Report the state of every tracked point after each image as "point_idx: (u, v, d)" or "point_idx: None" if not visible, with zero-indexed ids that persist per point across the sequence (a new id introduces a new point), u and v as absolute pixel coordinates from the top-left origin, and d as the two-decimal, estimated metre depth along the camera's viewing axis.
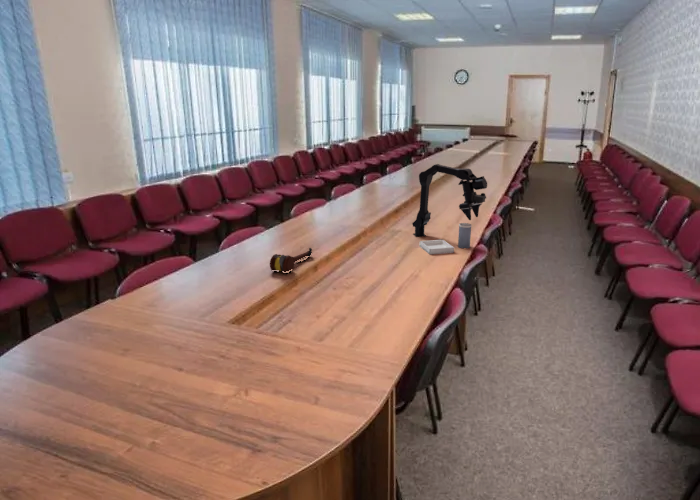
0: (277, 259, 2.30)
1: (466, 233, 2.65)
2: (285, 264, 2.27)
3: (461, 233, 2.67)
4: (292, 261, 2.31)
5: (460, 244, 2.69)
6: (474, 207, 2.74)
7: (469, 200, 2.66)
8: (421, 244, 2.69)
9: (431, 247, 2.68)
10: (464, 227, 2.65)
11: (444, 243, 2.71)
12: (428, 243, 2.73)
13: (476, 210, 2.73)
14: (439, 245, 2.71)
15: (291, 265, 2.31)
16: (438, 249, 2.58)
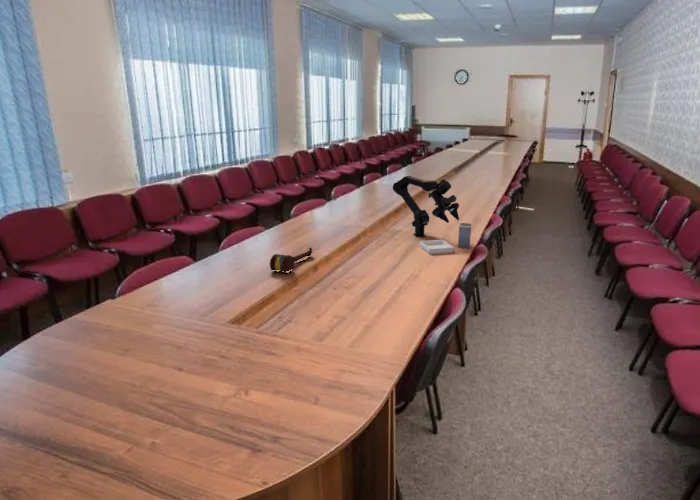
0: (277, 259, 2.30)
1: (466, 233, 2.65)
2: (285, 264, 2.27)
3: (461, 233, 2.67)
4: (292, 261, 2.31)
5: (460, 244, 2.69)
6: (453, 212, 2.78)
7: (441, 205, 2.74)
8: (421, 244, 2.69)
9: (431, 247, 2.68)
10: (464, 227, 2.65)
11: (444, 243, 2.71)
12: (428, 243, 2.73)
13: (455, 214, 2.77)
14: (439, 245, 2.71)
15: (291, 265, 2.31)
16: (438, 249, 2.58)
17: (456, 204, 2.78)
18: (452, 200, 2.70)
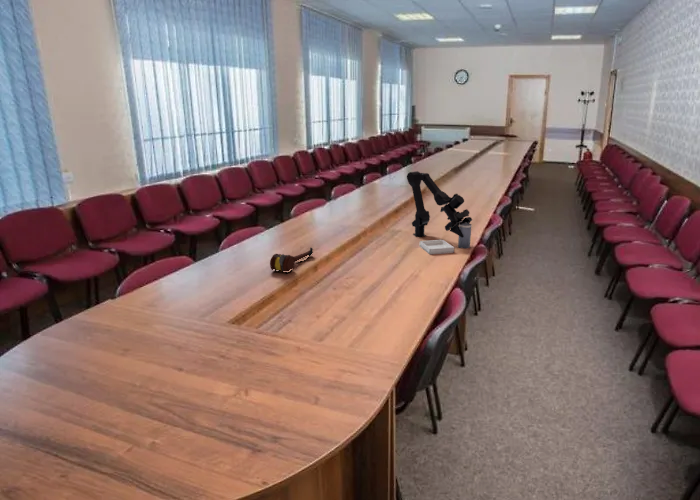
0: (277, 259, 2.31)
1: (466, 232, 2.66)
2: (285, 264, 2.28)
3: None
4: (292, 261, 2.32)
5: (460, 244, 2.69)
6: None
7: (453, 220, 2.69)
8: (421, 244, 2.69)
9: (431, 247, 2.68)
10: (464, 227, 2.65)
11: (444, 243, 2.71)
12: (428, 243, 2.73)
13: None
14: (439, 245, 2.71)
15: (291, 265, 2.32)
16: (438, 249, 2.58)
17: (469, 218, 2.73)
18: (465, 215, 2.65)
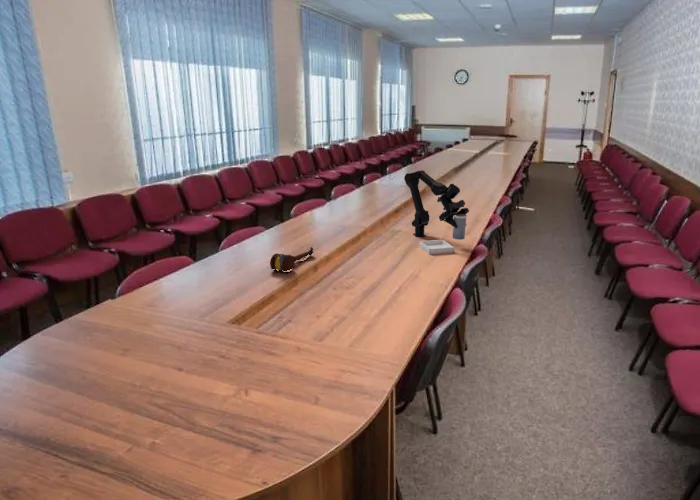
0: (277, 258, 2.31)
1: (460, 223, 2.62)
2: (285, 263, 2.28)
3: None
4: (292, 260, 2.32)
5: (454, 235, 2.66)
6: None
7: (449, 210, 2.67)
8: (421, 244, 2.69)
9: (431, 247, 2.68)
10: (458, 218, 2.62)
11: (444, 243, 2.71)
12: (428, 243, 2.73)
13: None
14: (439, 245, 2.71)
15: (291, 264, 2.32)
16: (438, 249, 2.58)
17: (465, 209, 2.69)
18: (460, 205, 2.62)
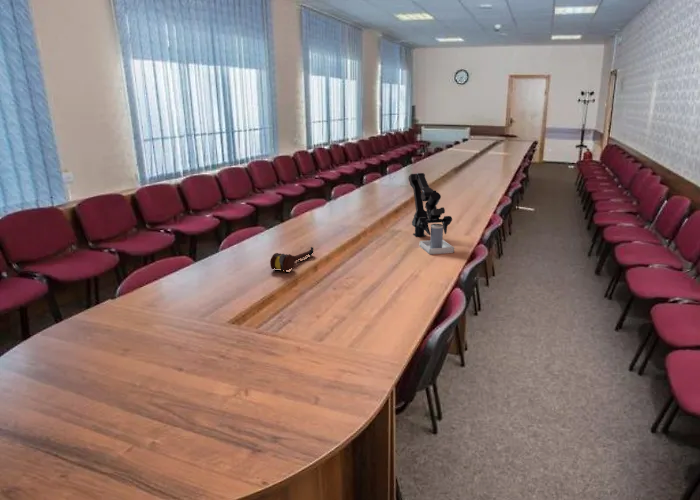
0: (277, 258, 2.31)
1: (434, 233, 2.61)
2: (285, 263, 2.29)
3: None
4: (292, 260, 2.33)
5: (430, 244, 2.66)
6: (443, 225, 2.67)
7: (429, 217, 2.67)
8: (421, 244, 2.69)
9: None
10: (432, 227, 2.61)
11: (444, 243, 2.71)
12: (428, 243, 2.73)
13: (444, 227, 2.65)
14: None
15: (291, 264, 2.32)
16: (438, 249, 2.58)
17: (447, 217, 2.65)
18: (436, 212, 2.60)
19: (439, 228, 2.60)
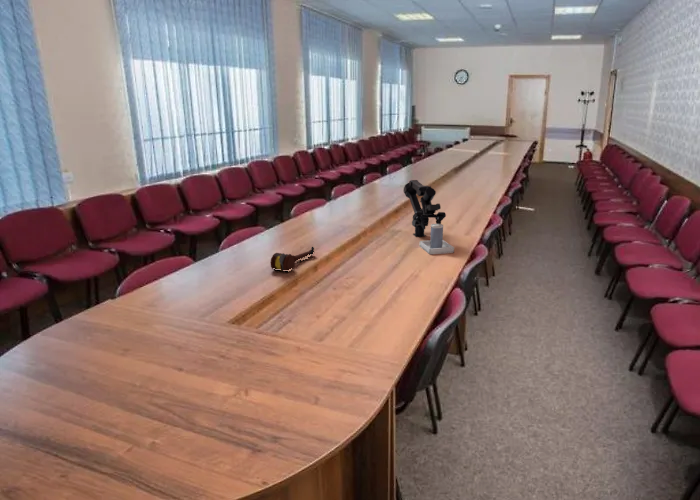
0: (278, 258, 2.32)
1: (434, 233, 2.62)
2: (285, 263, 2.29)
3: None
4: (292, 260, 2.33)
5: (430, 244, 2.66)
6: (437, 221, 2.77)
7: (424, 211, 2.75)
8: (421, 244, 2.69)
9: None
10: (432, 227, 2.62)
11: (444, 243, 2.71)
12: (428, 243, 2.73)
13: (438, 223, 2.75)
14: None
15: (291, 264, 2.33)
16: (438, 249, 2.58)
17: (442, 213, 2.75)
18: (433, 208, 2.69)
19: (439, 228, 2.60)
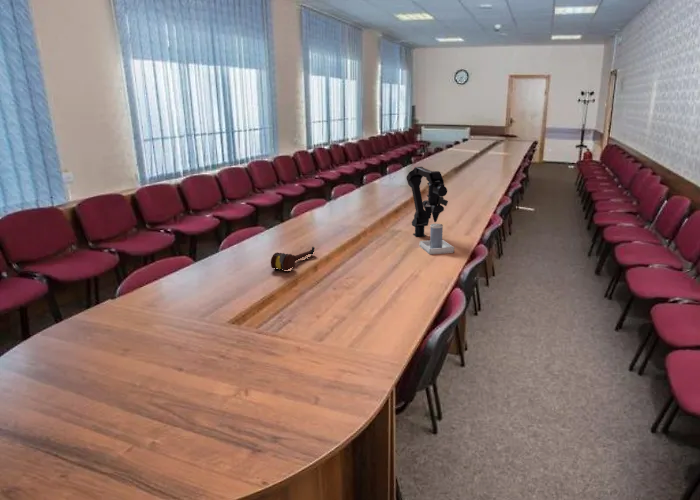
0: (278, 257, 2.32)
1: (434, 233, 2.62)
2: (285, 262, 2.29)
3: (430, 233, 2.64)
4: (293, 259, 2.34)
5: (430, 244, 2.66)
6: (428, 209, 2.81)
7: (436, 202, 2.72)
8: (421, 244, 2.69)
9: None
10: (432, 227, 2.62)
11: (444, 243, 2.71)
12: (428, 243, 2.73)
13: (430, 212, 2.81)
14: None
15: (292, 263, 2.33)
16: (438, 249, 2.58)
17: None
18: None
19: (438, 228, 2.60)
